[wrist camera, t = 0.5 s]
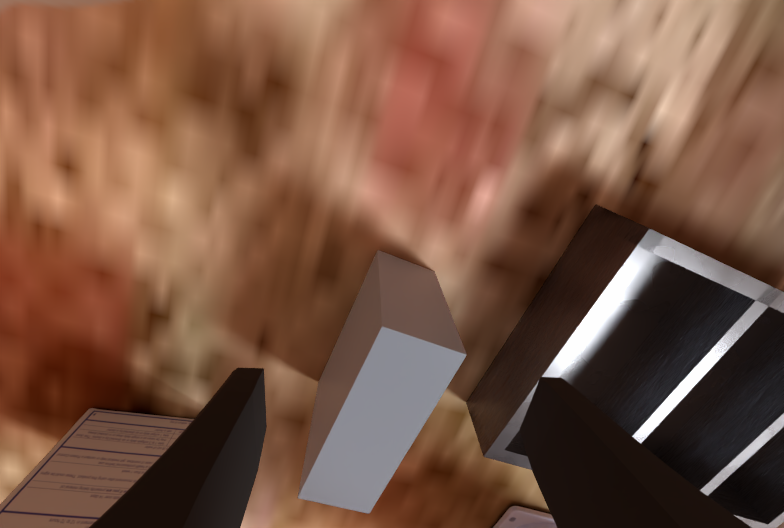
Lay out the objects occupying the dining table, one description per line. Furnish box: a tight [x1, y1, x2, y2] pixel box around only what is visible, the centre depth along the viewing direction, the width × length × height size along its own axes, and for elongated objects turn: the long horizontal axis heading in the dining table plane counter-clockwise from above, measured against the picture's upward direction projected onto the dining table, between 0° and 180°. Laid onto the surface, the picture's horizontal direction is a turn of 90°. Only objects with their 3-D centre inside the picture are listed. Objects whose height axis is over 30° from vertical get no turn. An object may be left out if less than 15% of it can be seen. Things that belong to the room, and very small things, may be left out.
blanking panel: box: [298, 250, 467, 514], centre depth 17 cm, size 9×3×7 cm, turn 156°
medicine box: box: [0, 408, 194, 528], centre depth 19 cm, size 8×4×9 cm, turn 77°
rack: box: [466, 205, 784, 528], centre depth 21 cm, size 14×21×4 cm, turn 66°
